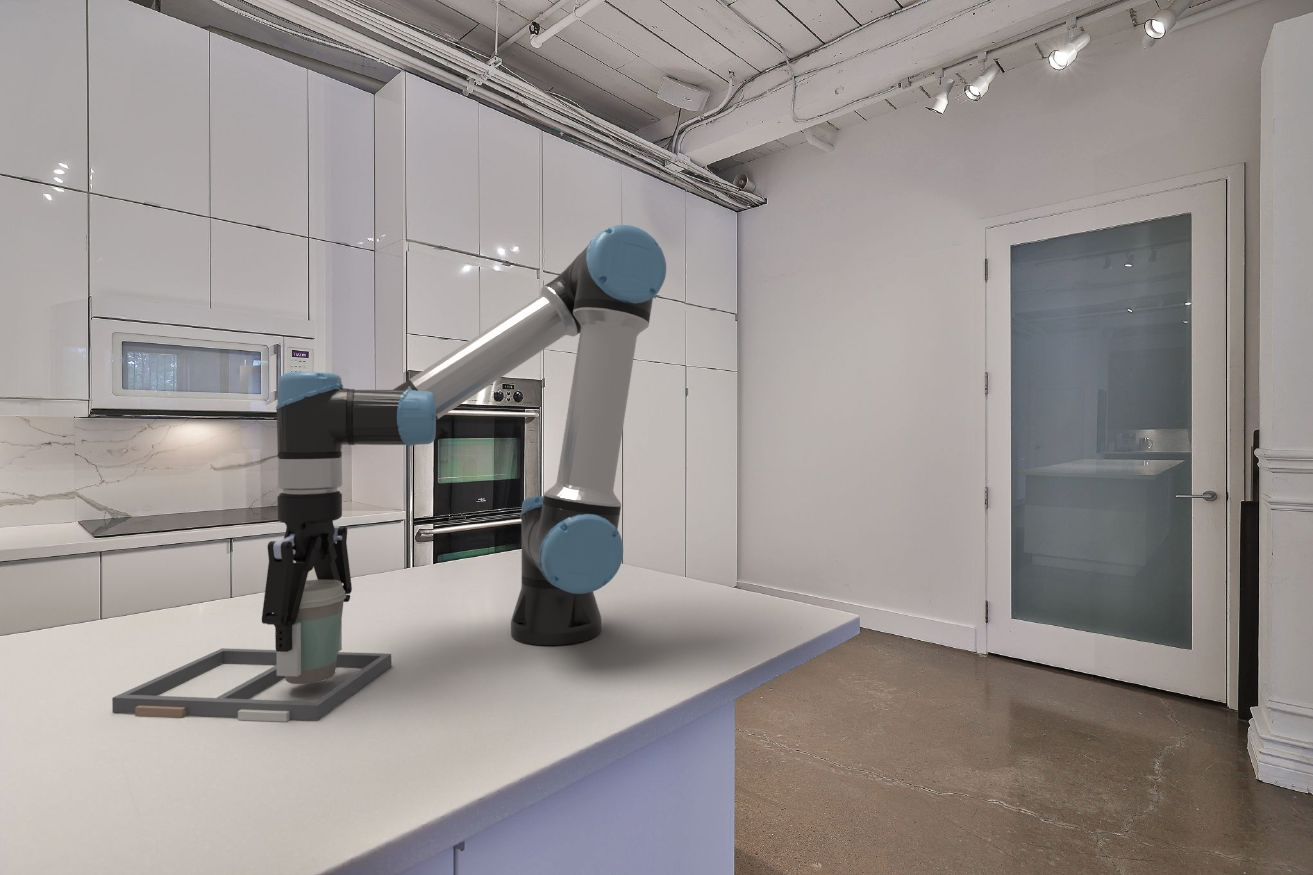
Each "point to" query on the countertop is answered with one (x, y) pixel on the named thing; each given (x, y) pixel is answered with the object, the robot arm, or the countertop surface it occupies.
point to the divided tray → (246, 689)
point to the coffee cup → (319, 630)
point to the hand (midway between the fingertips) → (310, 661)
